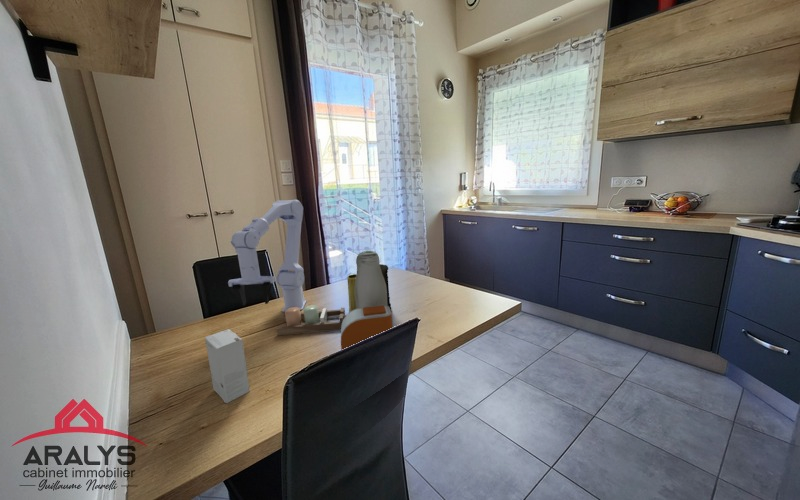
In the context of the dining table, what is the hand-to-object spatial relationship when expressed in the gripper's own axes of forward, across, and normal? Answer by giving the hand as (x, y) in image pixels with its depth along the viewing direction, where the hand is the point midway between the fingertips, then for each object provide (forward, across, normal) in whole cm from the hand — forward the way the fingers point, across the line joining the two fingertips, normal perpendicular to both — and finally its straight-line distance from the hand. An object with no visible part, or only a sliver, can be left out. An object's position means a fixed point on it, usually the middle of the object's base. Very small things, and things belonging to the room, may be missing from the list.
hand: (255, 303), depth 105 cm
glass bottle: (+10, +40, -10) cm, 42 cm away
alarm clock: (+10, +38, -22) cm, 45 cm away
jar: (+10, +12, 0) cm, 16 cm away
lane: (+10, +18, 0) cm, 21 cm away
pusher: (+10, +29, 0) cm, 31 cm away
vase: (+10, +34, +9) cm, 37 cm away
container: (+10, +43, +6) cm, 45 cm away
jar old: (+10, +18, 0) cm, 21 cm away
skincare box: (+10, +4, -33) cm, 35 cm away
